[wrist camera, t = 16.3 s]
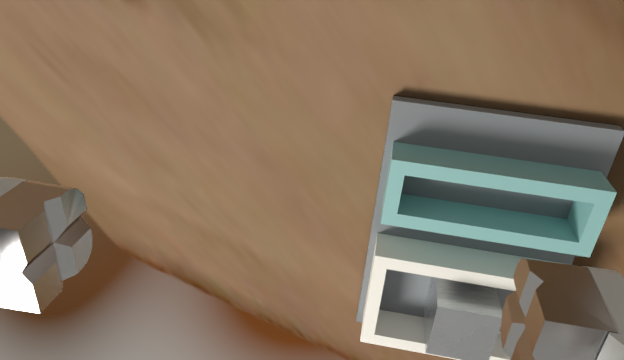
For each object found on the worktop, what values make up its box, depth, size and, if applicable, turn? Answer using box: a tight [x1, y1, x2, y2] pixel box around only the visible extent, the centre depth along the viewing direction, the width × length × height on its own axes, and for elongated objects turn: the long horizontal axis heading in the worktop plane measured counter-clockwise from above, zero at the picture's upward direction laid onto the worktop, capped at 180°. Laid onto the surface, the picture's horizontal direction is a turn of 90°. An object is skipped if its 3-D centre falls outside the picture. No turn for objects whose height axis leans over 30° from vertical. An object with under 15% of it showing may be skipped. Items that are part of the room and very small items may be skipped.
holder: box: [356, 96, 624, 360], centre depth 37 cm, size 15×20×4 cm
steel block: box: [424, 277, 502, 360], centre depth 38 cm, size 4×4×5 cm
